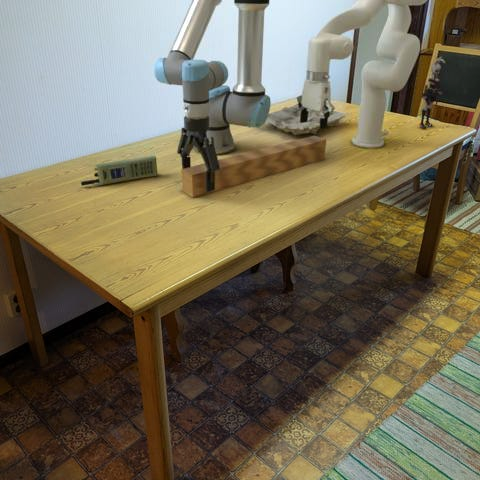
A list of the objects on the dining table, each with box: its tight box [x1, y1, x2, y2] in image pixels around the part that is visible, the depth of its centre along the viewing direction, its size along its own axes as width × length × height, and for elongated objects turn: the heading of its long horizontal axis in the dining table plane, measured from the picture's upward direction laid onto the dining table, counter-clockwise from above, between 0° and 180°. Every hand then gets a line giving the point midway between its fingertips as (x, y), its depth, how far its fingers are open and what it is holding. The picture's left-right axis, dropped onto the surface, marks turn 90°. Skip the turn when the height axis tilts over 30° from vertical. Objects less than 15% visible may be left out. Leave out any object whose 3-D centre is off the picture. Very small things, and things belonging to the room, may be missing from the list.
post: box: [181, 135, 327, 198], centre depth 171 cm, size 58×6×7 cm, turn 128°
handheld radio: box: [80, 155, 159, 187], centre depth 164 cm, size 7×3×25 cm
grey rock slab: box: [265, 103, 350, 136], centre depth 219 cm, size 38×6×30 cm
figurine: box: [419, 56, 446, 130], centre depth 216 cm, size 15×6×30 cm, turn 132°
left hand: (198, 183), depth 159 cm, fingers open, 13 cm apart
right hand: (313, 125), depth 180 cm, fingers open, 9 cm apart
